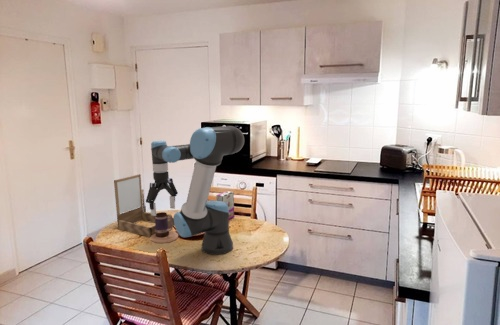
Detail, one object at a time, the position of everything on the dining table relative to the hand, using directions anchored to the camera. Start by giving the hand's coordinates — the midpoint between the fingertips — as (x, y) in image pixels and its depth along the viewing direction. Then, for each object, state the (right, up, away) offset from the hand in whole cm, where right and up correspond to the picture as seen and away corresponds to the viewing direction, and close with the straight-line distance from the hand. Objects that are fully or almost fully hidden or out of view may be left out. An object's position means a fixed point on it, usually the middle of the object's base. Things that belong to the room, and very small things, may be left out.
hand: (163, 211), depth 182 cm
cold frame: (-14, -12, +18) cm, 26 cm away
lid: (-25, -3, +23) cm, 34 cm away
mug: (0, -13, +3) cm, 13 cm away
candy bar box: (+30, -9, +30) cm, 43 cm away
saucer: (0, -14, +3) cm, 14 cm away
